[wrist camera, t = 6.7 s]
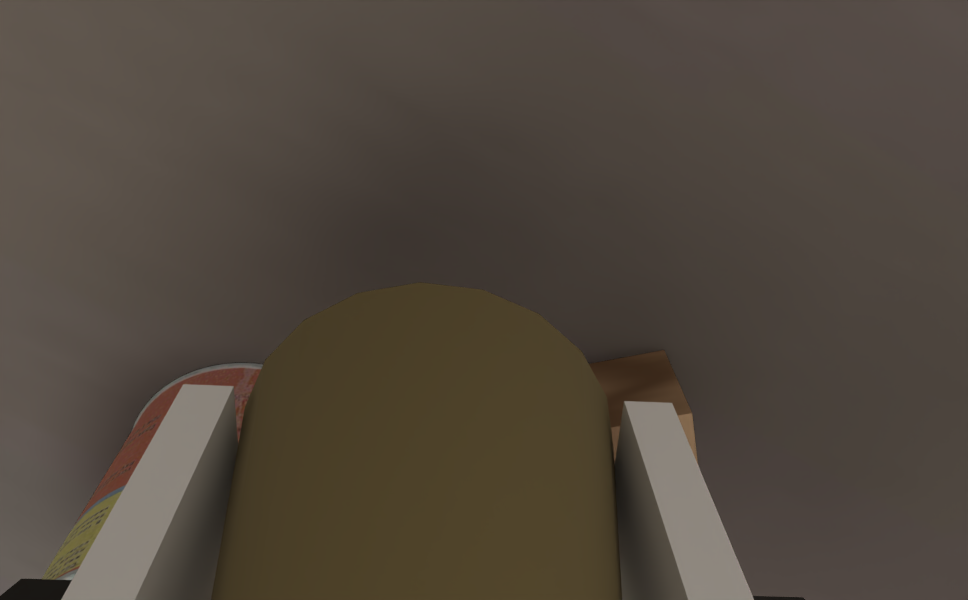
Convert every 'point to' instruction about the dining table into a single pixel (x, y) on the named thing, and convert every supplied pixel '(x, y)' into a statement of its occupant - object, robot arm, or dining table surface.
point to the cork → (423, 459)
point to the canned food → (132, 453)
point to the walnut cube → (642, 389)
